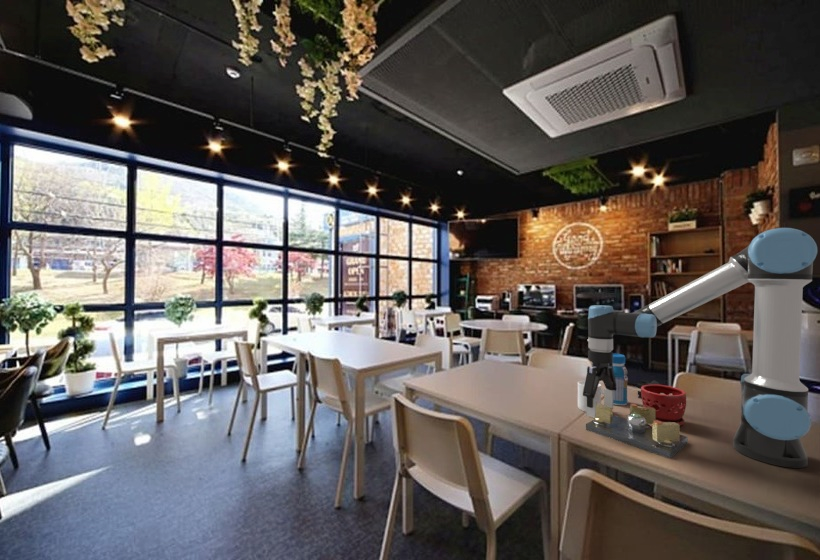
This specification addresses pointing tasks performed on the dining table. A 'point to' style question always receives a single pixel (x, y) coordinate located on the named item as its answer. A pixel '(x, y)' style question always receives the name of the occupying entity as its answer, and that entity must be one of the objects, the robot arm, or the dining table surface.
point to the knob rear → (644, 412)
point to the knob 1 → (603, 414)
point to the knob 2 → (666, 432)
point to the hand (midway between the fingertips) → (600, 412)
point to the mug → (583, 399)
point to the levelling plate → (636, 434)
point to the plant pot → (665, 402)
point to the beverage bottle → (620, 380)
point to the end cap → (646, 384)
